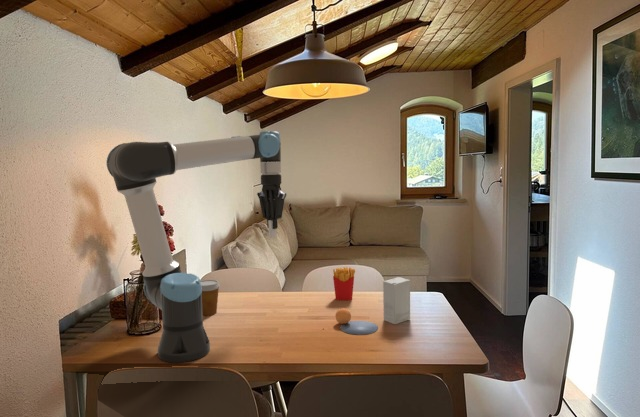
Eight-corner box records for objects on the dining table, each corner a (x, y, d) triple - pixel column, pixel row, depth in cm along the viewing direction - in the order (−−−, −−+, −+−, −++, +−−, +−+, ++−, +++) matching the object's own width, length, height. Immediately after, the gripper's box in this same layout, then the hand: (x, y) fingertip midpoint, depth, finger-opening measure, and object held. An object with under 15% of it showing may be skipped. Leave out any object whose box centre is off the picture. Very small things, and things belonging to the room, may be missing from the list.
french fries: (333, 300, 189) (333, 269, 188) (333, 297, 194) (333, 267, 192) (355, 300, 189) (355, 269, 188) (355, 297, 193) (354, 266, 192)
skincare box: (398, 315, 169) (398, 276, 168) (411, 320, 164) (411, 279, 163) (382, 320, 164) (382, 280, 163) (394, 325, 159) (394, 283, 158)
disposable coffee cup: (224, 309, 181) (222, 279, 179) (216, 317, 171) (214, 286, 170) (200, 309, 182) (199, 279, 180) (191, 317, 172) (190, 285, 171)
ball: (345, 313, 157) (332, 308, 161) (344, 328, 158) (331, 323, 162) (354, 309, 161) (342, 304, 165) (353, 323, 162) (341, 318, 166)
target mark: (364, 337, 149) (364, 337, 148) (332, 329, 156) (332, 328, 156) (385, 326, 159) (385, 325, 159) (353, 318, 167) (353, 318, 167)
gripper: (291, 173, 167) (292, 237, 170) (265, 173, 175) (267, 234, 178) (276, 174, 162) (278, 240, 164) (251, 174, 170) (253, 237, 172)
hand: (272, 237), depth 171 cm, fingers closed
